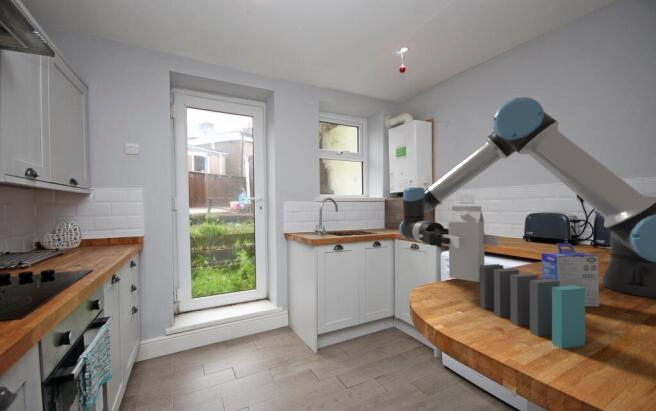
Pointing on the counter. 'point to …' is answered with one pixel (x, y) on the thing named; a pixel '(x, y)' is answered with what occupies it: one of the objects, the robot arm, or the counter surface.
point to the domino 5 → (568, 316)
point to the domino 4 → (541, 306)
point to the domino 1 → (487, 285)
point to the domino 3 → (520, 298)
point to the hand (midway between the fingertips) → (478, 242)
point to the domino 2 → (502, 291)
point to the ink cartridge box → (573, 271)
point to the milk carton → (466, 242)
